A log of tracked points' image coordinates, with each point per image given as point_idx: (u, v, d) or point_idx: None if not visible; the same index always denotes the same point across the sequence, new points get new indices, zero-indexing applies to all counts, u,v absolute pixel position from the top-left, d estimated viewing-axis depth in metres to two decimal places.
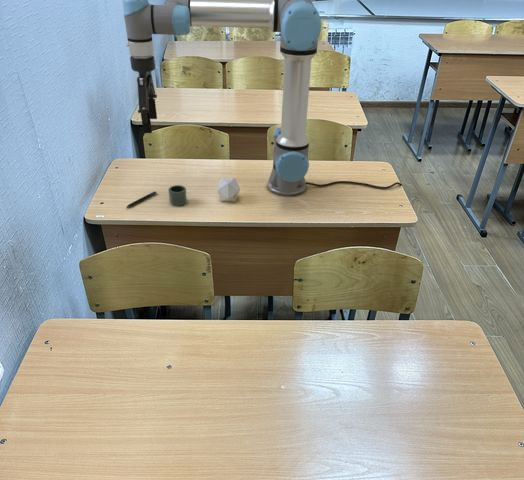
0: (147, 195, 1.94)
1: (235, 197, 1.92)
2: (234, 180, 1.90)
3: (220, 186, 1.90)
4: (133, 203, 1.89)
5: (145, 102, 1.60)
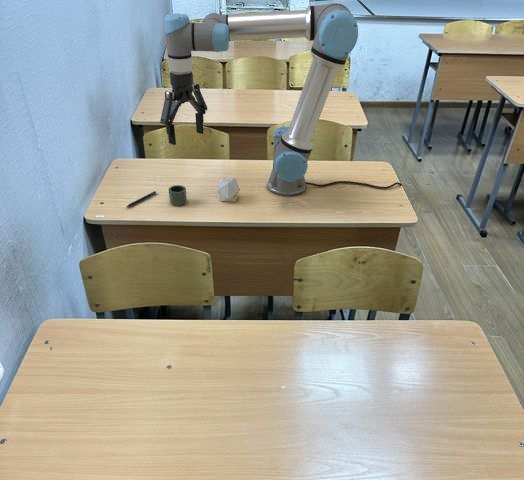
0: (147, 195, 1.94)
1: (235, 197, 1.92)
2: (234, 180, 1.90)
3: (220, 186, 1.90)
4: (133, 203, 1.89)
5: (166, 115, 1.65)
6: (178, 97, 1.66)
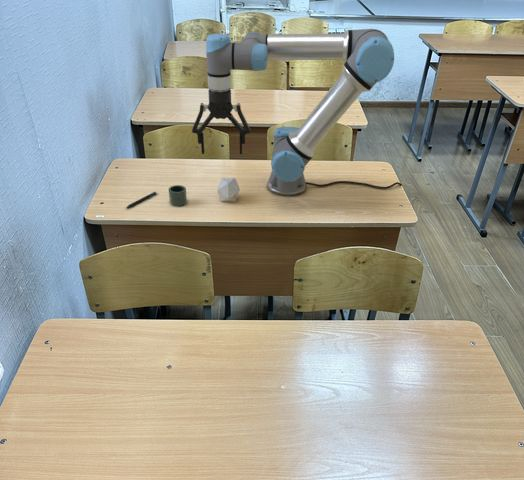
0: (147, 196, 1.94)
1: (235, 197, 1.92)
2: (234, 180, 1.90)
3: (220, 186, 1.90)
4: (133, 204, 1.89)
5: (194, 124, 1.75)
6: (211, 111, 1.72)
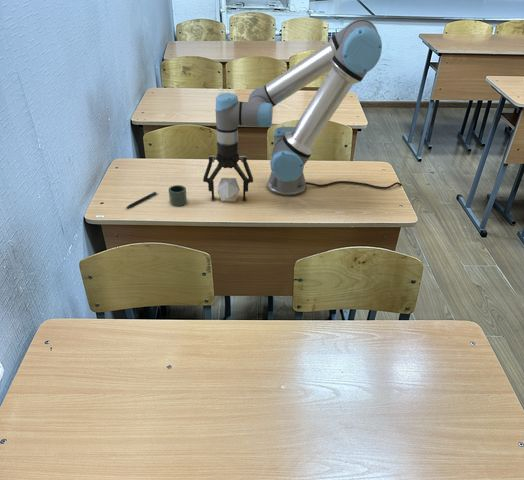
0: (147, 196, 1.94)
1: (235, 197, 1.92)
2: (234, 180, 1.90)
3: (220, 186, 1.90)
4: (133, 204, 1.89)
5: (205, 174, 1.87)
6: (219, 162, 1.84)
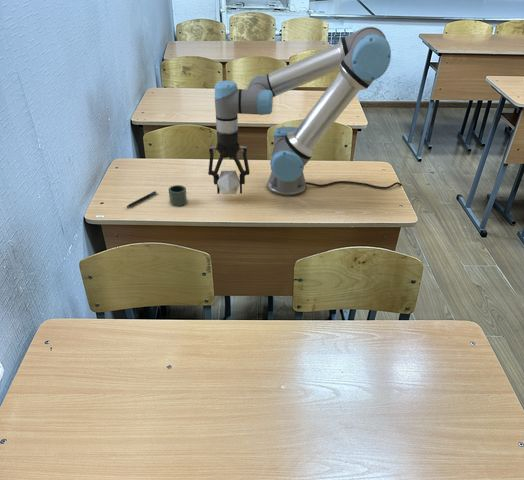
0: (147, 195, 1.94)
1: (235, 190, 1.90)
2: (234, 173, 1.88)
3: (220, 179, 1.88)
4: (133, 203, 1.89)
5: (209, 167, 1.85)
6: (219, 151, 1.82)
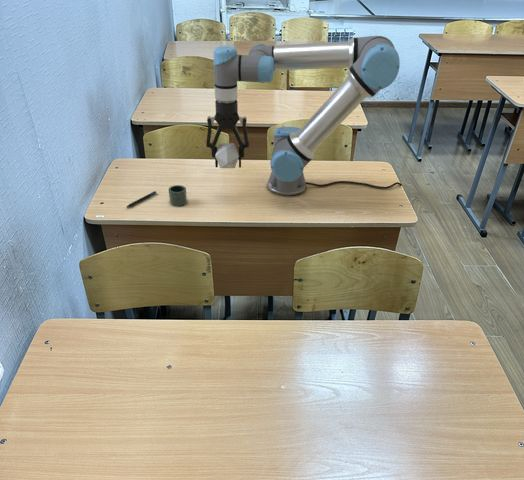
0: (147, 195, 1.94)
1: (234, 163, 1.83)
2: (233, 145, 1.81)
3: (218, 151, 1.81)
4: (133, 203, 1.89)
5: (207, 138, 1.78)
6: (218, 122, 1.75)
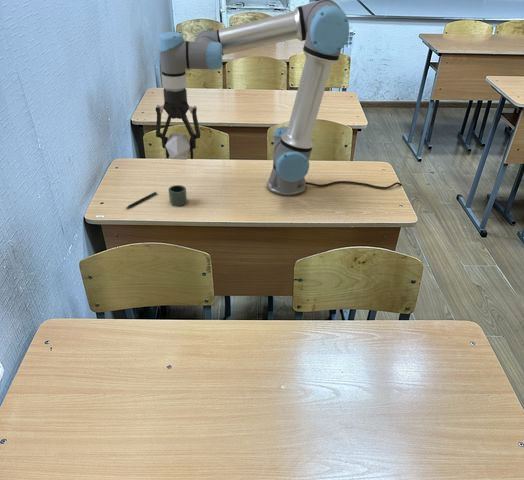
0: (147, 196, 1.94)
1: (185, 154, 1.78)
2: (184, 136, 1.76)
3: (169, 142, 1.75)
4: (133, 204, 1.89)
5: (156, 128, 1.73)
6: (166, 111, 1.69)
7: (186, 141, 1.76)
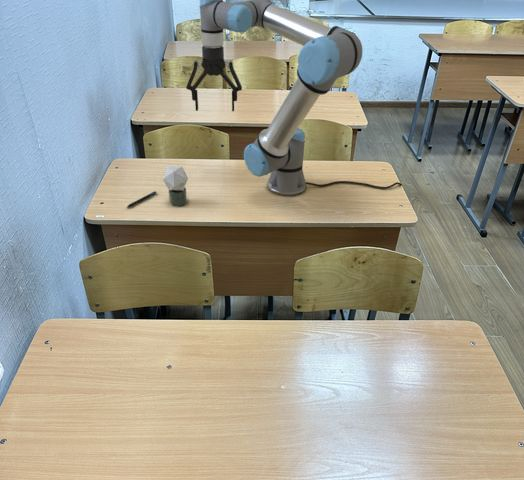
0: (147, 195, 1.94)
1: (182, 186, 1.85)
2: (181, 168, 1.84)
3: (166, 175, 1.83)
4: (133, 203, 1.89)
5: (189, 80, 1.83)
6: (204, 68, 1.80)
7: (182, 174, 1.83)
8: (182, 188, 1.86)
